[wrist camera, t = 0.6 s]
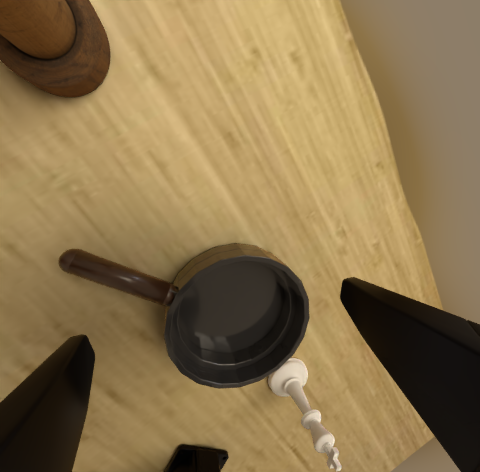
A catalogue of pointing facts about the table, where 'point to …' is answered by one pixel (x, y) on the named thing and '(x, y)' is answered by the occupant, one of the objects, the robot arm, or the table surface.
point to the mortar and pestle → (54, 44)
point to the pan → (235, 316)
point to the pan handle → (116, 276)
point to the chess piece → (304, 406)
